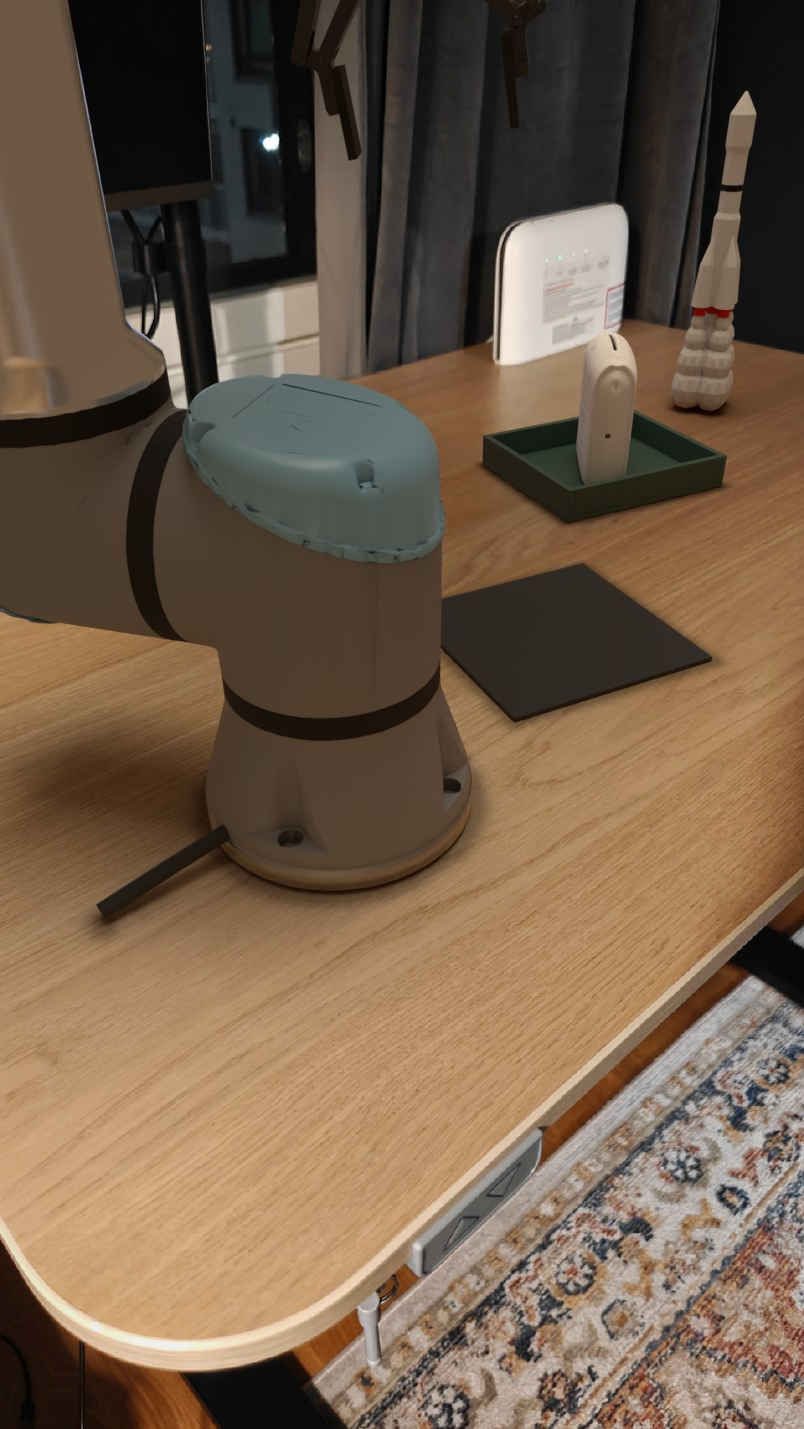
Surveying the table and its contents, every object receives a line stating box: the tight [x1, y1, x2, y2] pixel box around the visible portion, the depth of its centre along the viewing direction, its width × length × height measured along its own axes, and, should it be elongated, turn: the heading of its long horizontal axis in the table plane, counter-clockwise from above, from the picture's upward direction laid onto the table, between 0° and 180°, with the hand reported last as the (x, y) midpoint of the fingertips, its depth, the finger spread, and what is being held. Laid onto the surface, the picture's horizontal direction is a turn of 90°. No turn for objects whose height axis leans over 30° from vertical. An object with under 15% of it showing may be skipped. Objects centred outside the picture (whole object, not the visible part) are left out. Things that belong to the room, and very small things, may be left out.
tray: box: [481, 409, 728, 524], centre depth 97 cm, size 17×15×3 cm
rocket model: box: [670, 90, 757, 412], centre depth 105 cm, size 7×7×30 cm
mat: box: [441, 562, 713, 722], centre depth 74 cm, size 16×16×1 cm
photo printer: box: [576, 332, 638, 485], centre depth 94 cm, size 10×4×12 cm, turn 177°
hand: (434, 141), depth 85 cm, fingers open, 13 cm apart
